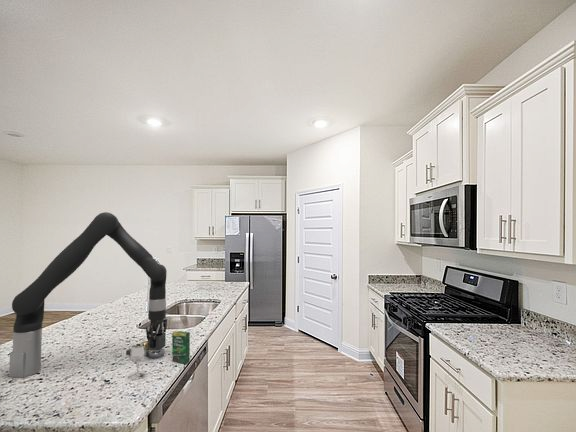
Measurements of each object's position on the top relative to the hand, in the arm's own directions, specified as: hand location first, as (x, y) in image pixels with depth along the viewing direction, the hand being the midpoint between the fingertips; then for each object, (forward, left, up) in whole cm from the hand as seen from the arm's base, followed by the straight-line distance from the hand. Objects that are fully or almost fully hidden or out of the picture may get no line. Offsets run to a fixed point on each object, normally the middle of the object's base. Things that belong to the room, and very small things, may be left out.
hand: (156, 345), depth 151 cm
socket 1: (+5, +9, -5) cm, 11 cm away
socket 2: (0, 0, -1) cm, 1 cm away
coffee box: (-4, -14, -5) cm, 16 cm away
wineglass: (-20, -4, -5) cm, 21 cm away
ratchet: (0, +6, -5) cm, 7 cm away
